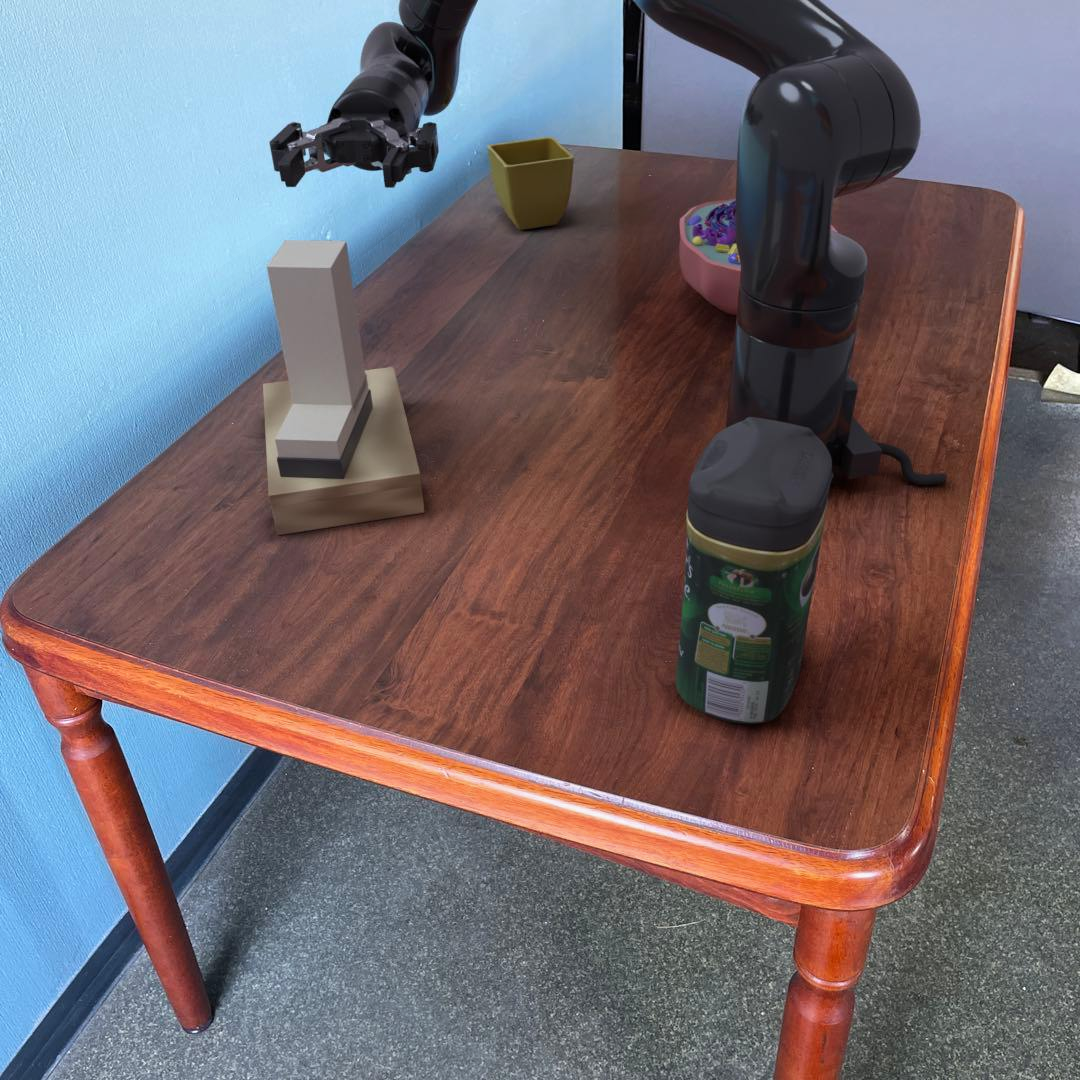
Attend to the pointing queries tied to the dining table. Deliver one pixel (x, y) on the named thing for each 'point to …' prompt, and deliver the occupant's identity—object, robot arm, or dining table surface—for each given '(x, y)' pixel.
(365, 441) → the tan flat block
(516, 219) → the flower pot
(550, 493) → the dining table surface
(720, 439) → the coffee jar
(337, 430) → the boot
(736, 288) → the cell model
